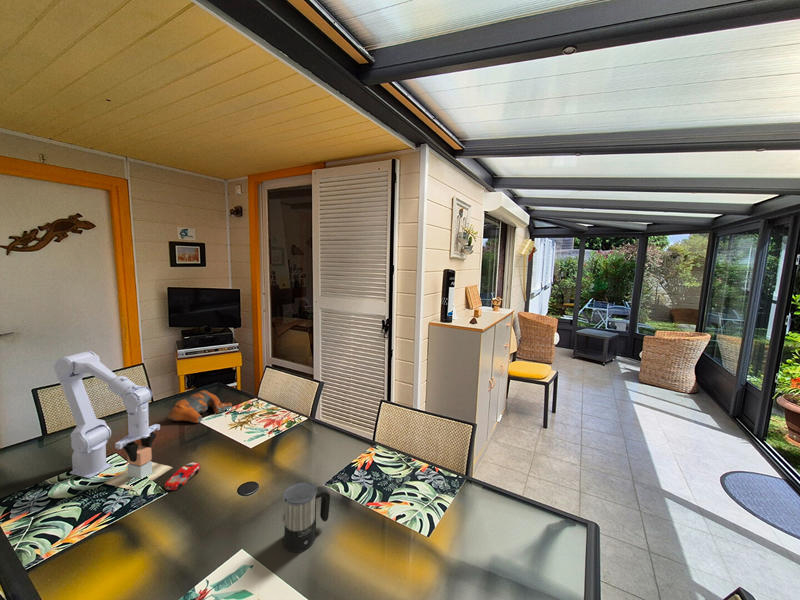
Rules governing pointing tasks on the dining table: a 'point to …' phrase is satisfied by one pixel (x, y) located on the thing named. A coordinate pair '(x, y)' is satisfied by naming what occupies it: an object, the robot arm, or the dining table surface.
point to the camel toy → (196, 407)
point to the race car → (182, 476)
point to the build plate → (123, 477)
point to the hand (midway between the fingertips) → (139, 457)
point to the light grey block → (140, 470)
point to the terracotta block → (142, 456)
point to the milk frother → (303, 514)
